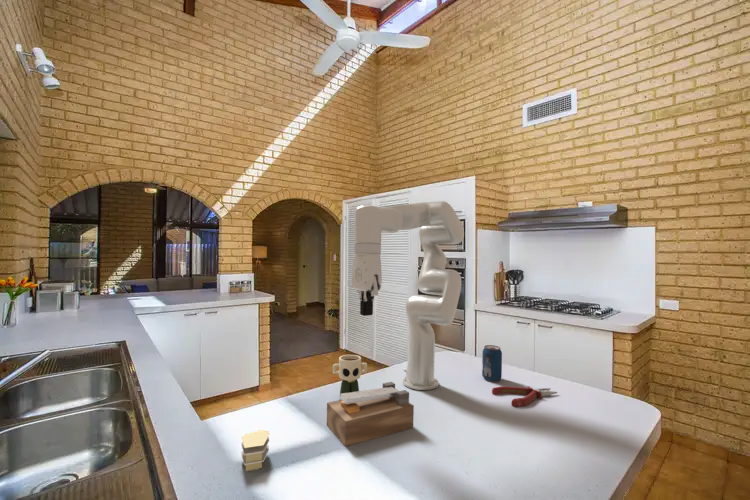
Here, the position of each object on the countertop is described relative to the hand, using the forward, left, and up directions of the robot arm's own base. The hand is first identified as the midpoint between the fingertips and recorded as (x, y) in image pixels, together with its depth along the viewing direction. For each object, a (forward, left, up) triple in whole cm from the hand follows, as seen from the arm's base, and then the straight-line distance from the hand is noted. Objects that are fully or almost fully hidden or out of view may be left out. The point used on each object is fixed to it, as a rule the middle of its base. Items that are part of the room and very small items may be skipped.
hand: (366, 314), depth 102 cm
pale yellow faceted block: (+7, -31, -30) cm, 44 cm away
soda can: (-6, +57, -29) cm, 64 cm away
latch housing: (+5, -1, -29) cm, 30 cm away
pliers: (+12, +54, -30) cm, 63 cm away
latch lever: (+5, -1, -21) cm, 22 cm away
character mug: (-14, +2, -29) cm, 33 cm away
